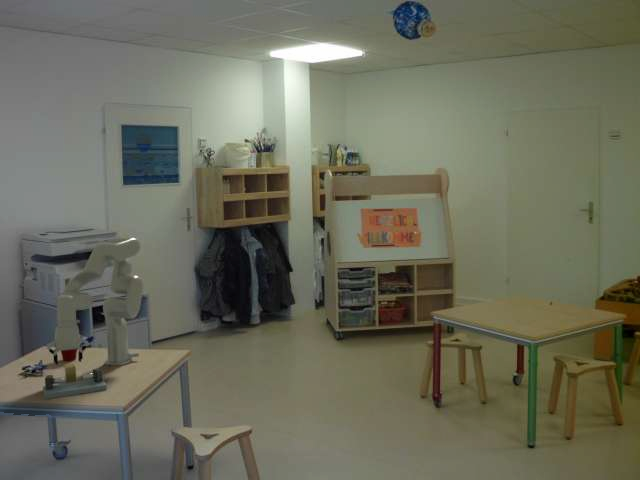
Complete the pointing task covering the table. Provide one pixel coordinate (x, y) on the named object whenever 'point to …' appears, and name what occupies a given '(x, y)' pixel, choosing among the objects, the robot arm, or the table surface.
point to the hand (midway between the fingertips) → (68, 362)
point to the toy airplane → (34, 368)
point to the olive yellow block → (70, 373)
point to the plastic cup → (69, 354)
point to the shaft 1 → (53, 381)
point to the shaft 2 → (94, 375)
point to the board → (74, 388)
